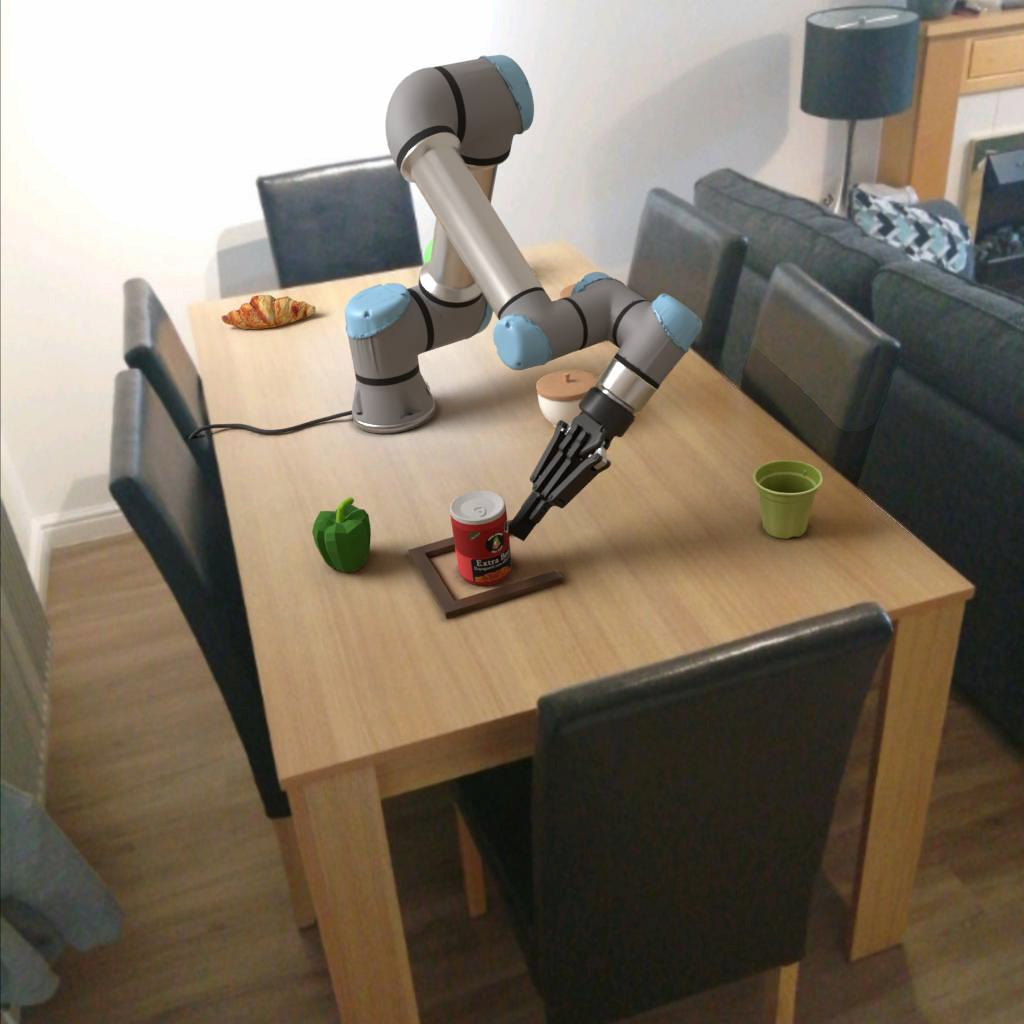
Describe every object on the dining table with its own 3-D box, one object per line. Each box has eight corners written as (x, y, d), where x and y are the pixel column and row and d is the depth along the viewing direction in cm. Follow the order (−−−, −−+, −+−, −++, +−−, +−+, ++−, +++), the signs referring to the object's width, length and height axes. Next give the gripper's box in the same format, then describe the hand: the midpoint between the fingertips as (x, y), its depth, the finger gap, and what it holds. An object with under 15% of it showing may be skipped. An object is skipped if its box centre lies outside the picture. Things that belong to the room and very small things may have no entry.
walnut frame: (515, 524, 157) (515, 518, 156) (562, 582, 143) (561, 576, 142) (408, 555, 152) (407, 549, 151) (446, 619, 138) (445, 613, 138)
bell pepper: (328, 585, 147) (315, 526, 142) (314, 557, 154) (301, 499, 148) (384, 568, 150) (374, 509, 144) (368, 541, 156) (357, 483, 151)
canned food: (477, 594, 142) (468, 527, 137) (448, 568, 148) (438, 503, 142) (523, 573, 146) (516, 506, 140) (493, 548, 152) (485, 483, 146)
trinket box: (595, 437, 178) (593, 387, 173) (534, 436, 180) (530, 386, 175) (603, 408, 187) (601, 360, 182) (544, 408, 189) (541, 360, 184)
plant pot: (805, 552, 144) (810, 499, 139) (741, 536, 149) (743, 484, 144) (827, 519, 151) (831, 467, 146) (764, 505, 155) (767, 454, 150)
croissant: (319, 325, 243) (313, 291, 243) (316, 319, 233) (311, 284, 233) (227, 337, 241) (221, 302, 240) (221, 332, 231) (215, 296, 230)
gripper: (656, 430, 139) (552, 568, 143) (612, 395, 150) (516, 524, 154) (619, 404, 135) (513, 547, 139) (576, 369, 145) (478, 503, 150)
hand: (514, 534), depth 146 cm, fingers closed
